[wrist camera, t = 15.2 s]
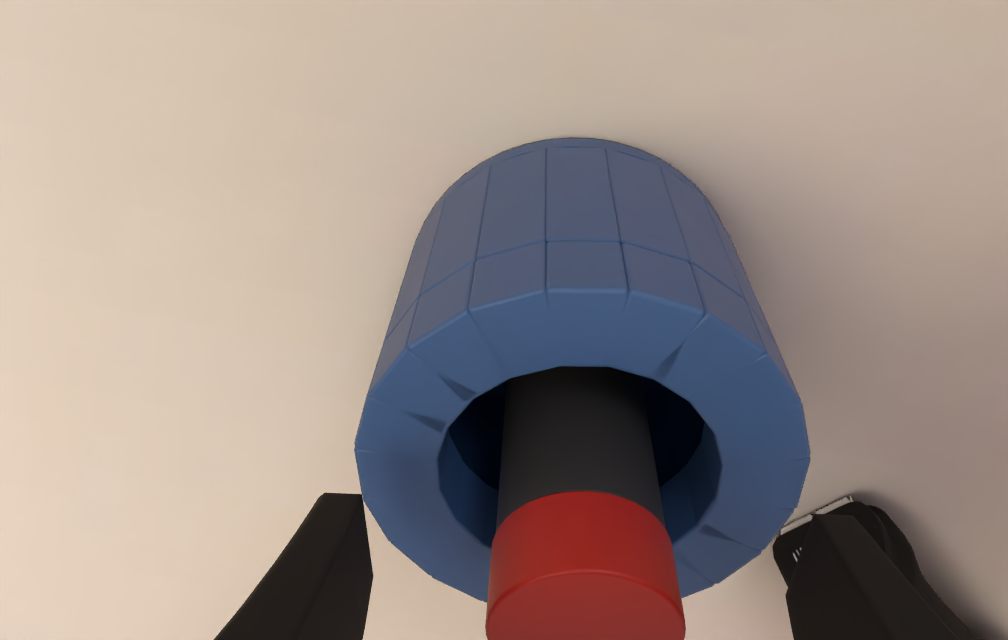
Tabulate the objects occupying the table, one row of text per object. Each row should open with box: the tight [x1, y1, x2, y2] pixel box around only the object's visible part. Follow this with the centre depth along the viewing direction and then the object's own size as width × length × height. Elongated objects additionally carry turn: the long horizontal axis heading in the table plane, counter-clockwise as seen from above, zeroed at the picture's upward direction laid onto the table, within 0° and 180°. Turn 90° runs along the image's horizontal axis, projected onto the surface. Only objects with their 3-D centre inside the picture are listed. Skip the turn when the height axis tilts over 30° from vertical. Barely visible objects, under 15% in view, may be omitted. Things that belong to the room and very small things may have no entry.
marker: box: [485, 366, 686, 640], centre depth 15 cm, size 3×3×9 cm
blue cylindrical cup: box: [354, 138, 810, 602], centre depth 16 cm, size 8×8×6 cm
